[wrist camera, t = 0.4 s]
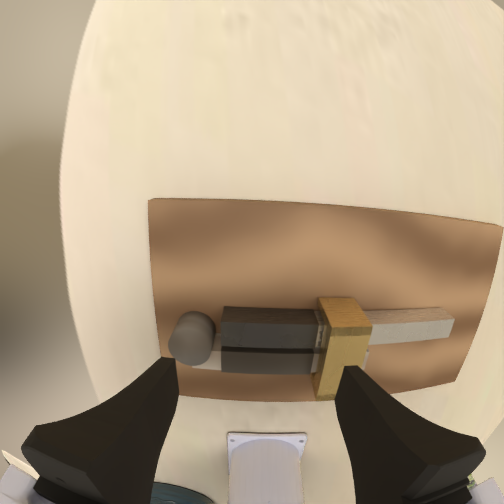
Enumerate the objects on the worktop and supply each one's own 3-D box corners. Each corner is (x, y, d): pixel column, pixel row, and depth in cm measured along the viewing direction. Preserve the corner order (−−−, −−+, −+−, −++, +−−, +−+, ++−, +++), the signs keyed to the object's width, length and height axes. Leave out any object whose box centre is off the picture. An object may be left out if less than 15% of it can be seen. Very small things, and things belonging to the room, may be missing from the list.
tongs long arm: (436, 325, 19) (448, 338, 17) (224, 328, 20) (220, 345, 18) (442, 306, 19) (455, 318, 17) (224, 306, 19) (220, 321, 17)
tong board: (449, 374, 23) (466, 396, 19) (171, 384, 23) (160, 414, 19) (495, 224, 18) (523, 234, 15) (154, 198, 18) (131, 205, 15)
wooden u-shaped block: (339, 364, 20) (351, 398, 17) (307, 365, 20) (315, 401, 17) (353, 297, 19) (373, 326, 15) (318, 297, 19) (331, 327, 15)
